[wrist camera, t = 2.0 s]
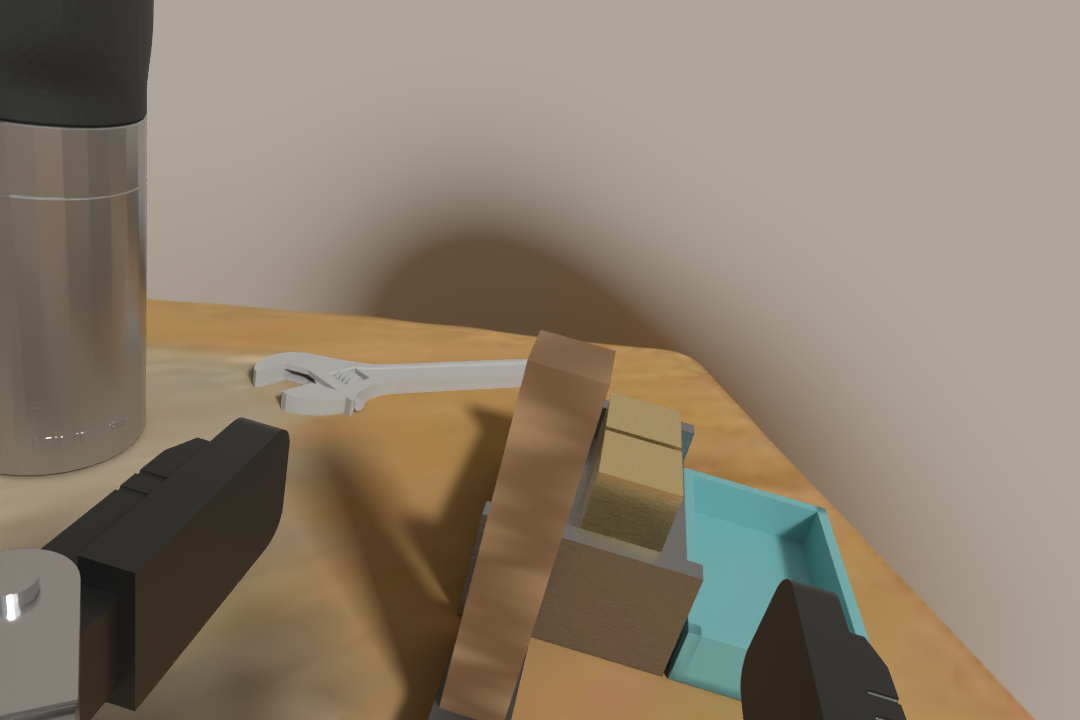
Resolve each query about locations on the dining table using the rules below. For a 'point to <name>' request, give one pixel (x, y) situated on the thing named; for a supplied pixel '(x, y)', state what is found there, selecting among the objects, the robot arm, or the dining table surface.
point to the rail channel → (614, 587)
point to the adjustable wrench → (374, 380)
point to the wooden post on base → (524, 525)
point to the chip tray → (748, 573)
